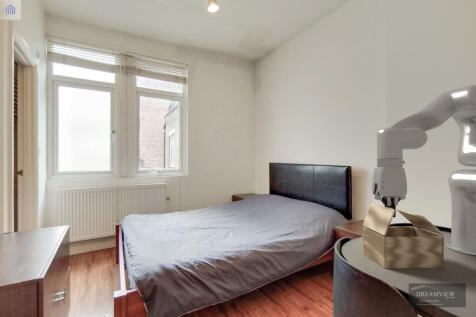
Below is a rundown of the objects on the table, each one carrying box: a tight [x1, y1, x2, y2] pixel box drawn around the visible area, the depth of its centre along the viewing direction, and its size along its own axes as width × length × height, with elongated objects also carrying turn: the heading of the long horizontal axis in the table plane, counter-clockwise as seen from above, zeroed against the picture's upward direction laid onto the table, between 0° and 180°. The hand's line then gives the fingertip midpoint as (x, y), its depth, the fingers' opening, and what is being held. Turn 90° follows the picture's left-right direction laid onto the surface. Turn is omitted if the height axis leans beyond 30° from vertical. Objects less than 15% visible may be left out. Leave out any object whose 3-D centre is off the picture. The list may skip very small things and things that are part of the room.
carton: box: [362, 226, 445, 270], centre depth 83 cm, size 20×12×10 cm, turn 94°
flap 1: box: [362, 202, 397, 235], centre depth 82 cm, size 9×12×1 cm
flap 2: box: [396, 208, 444, 236], centre depth 83 cm, size 9×12×1 cm
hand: (390, 216), depth 83 cm, fingers closed
